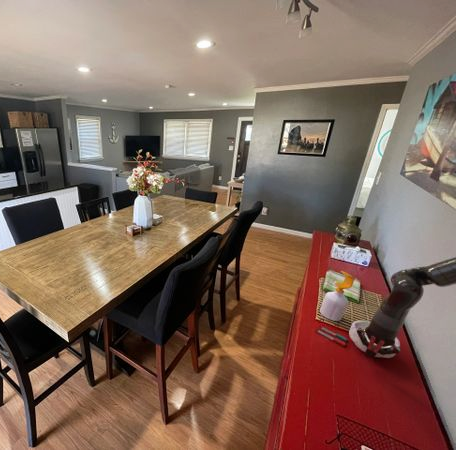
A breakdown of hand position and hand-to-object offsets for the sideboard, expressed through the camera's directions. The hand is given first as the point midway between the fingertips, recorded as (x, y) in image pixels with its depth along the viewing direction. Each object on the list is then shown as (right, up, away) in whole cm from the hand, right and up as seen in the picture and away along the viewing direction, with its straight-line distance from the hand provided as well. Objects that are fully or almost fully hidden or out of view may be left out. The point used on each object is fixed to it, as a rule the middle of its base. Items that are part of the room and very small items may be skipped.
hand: (368, 356), depth 93 cm
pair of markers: (-6, +1, +12) cm, 13 cm away
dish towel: (+25, +15, +47) cm, 55 cm away
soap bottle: (+3, +7, +25) cm, 26 cm away
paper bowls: (+7, -1, +8) cm, 11 cm away
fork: (-4, +2, +14) cm, 15 cm away
